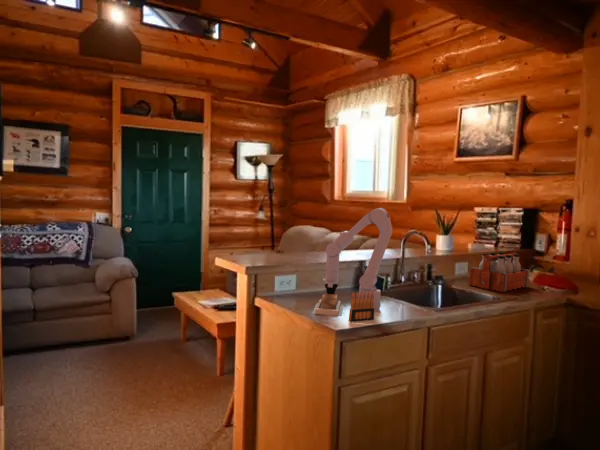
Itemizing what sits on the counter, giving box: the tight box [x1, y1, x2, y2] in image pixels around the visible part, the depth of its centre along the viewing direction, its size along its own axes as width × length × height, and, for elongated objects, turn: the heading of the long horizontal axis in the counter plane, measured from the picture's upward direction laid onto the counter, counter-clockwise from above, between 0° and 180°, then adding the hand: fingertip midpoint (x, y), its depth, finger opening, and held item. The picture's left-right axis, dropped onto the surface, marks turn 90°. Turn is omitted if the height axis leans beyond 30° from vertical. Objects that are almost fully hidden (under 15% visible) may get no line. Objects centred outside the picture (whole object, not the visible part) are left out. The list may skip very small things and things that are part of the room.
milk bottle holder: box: [468, 251, 530, 293], centre depth 276 cm, size 21×35×19 cm, turn 130°
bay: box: [311, 298, 344, 317], centre depth 202 cm, size 12×18×2 cm, turn 172°
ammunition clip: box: [348, 290, 375, 323], centre depth 188 cm, size 11×2×12 cm, turn 116°
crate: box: [321, 293, 338, 309], centre depth 206 cm, size 6×6×5 cm
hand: (330, 300), depth 213 cm, fingers closed
